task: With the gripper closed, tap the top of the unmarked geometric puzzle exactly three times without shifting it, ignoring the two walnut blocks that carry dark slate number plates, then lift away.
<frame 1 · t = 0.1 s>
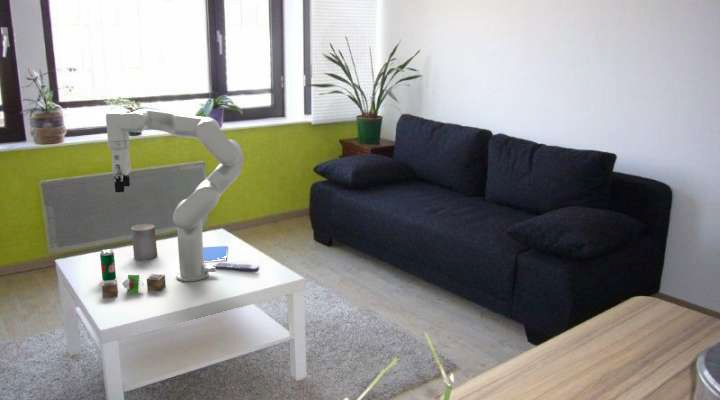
hand: (122, 189, 245), 37 cm above the table, tool pointing down, fingers open, 9 cm apart
marked block 2: (156, 289, 244), on the table
soda can: (109, 280, 253), on the table
geometric puzzle: (133, 292, 241), on the table
marked block 1: (110, 295, 238), on the table
tablet computer: (213, 256, 283), on the table
pillar candle: (145, 257, 280), on the table
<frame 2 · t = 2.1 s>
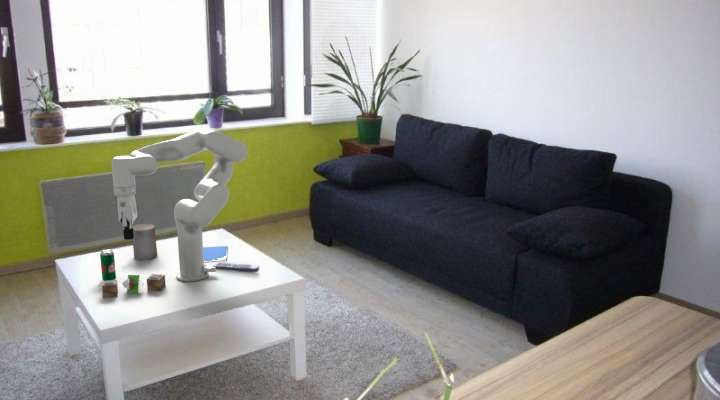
hand: (129, 238, 236), 21 cm above the table, tool pointing down, fingers closed
nothing on the table moved.
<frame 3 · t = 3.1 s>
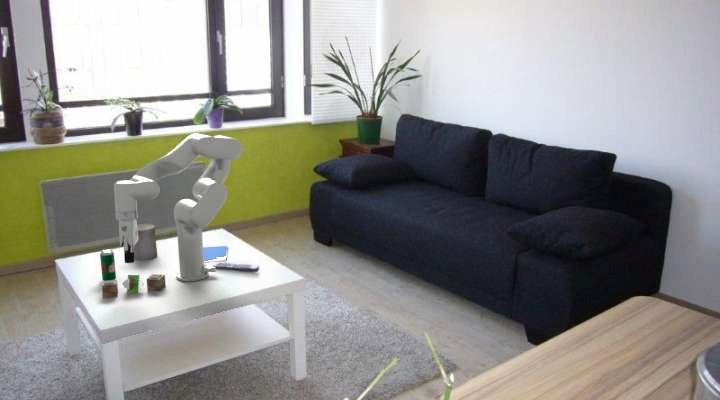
hand: (129, 262, 238), 12 cm above the table, tool pointing down, fingers closed
nothing on the table moved.
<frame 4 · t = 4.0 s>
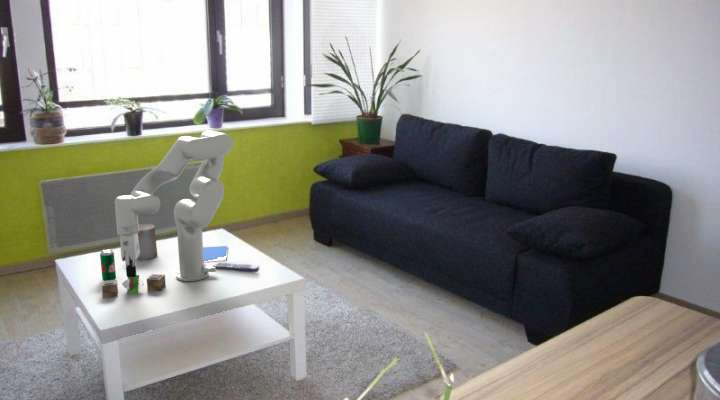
hand: (131, 276, 240), 6 cm above the table, tool pointing down, fingers closed
geometric puzzle: (133, 292, 241), on the table, touching gripper
everything else where it was.
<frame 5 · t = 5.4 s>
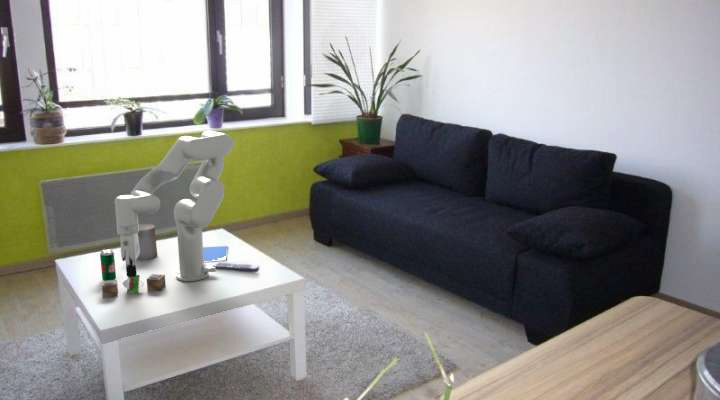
hand: (131, 275, 240), 6 cm above the table, tool pointing down, fingers closed
nothing on the table moved.
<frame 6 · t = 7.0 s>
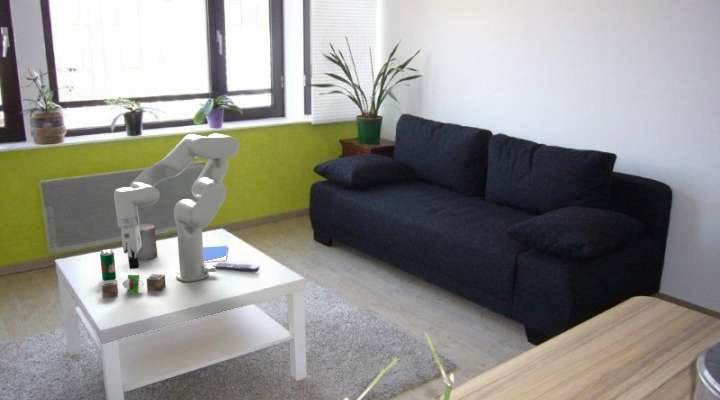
hand: (134, 267, 240), 9 cm above the table, tool pointing down, fingers closed
geometric puzzle: (133, 292, 241), on the table
everything else where it was.
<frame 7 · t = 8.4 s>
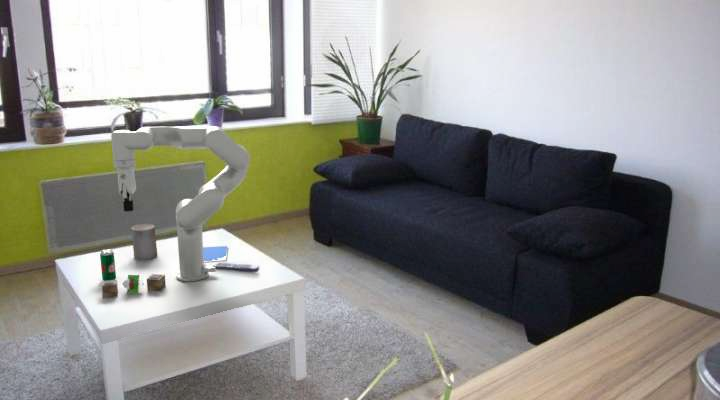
hand: (128, 210, 245), 29 cm above the table, tool pointing down, fingers closed
nothing on the table moved.
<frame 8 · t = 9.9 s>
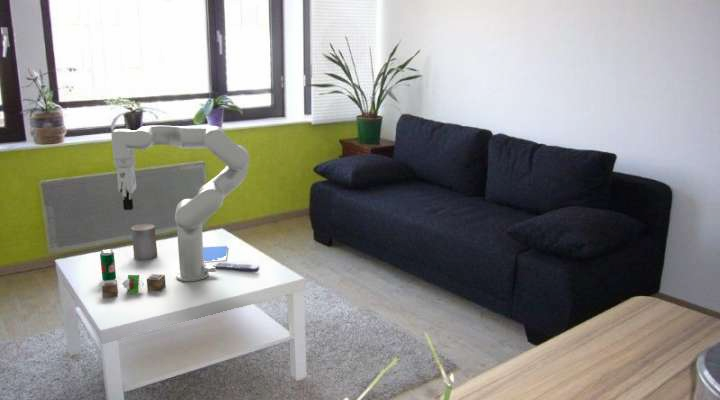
hand: (128, 209, 246), 29 cm above the table, tool pointing down, fingers closed
nothing on the table moved.
at the end: geometric puzzle moved 0.2 cm from its start; geometric puzzle tilted 0°; marked block 2 moved 0.1 cm from its start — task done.
